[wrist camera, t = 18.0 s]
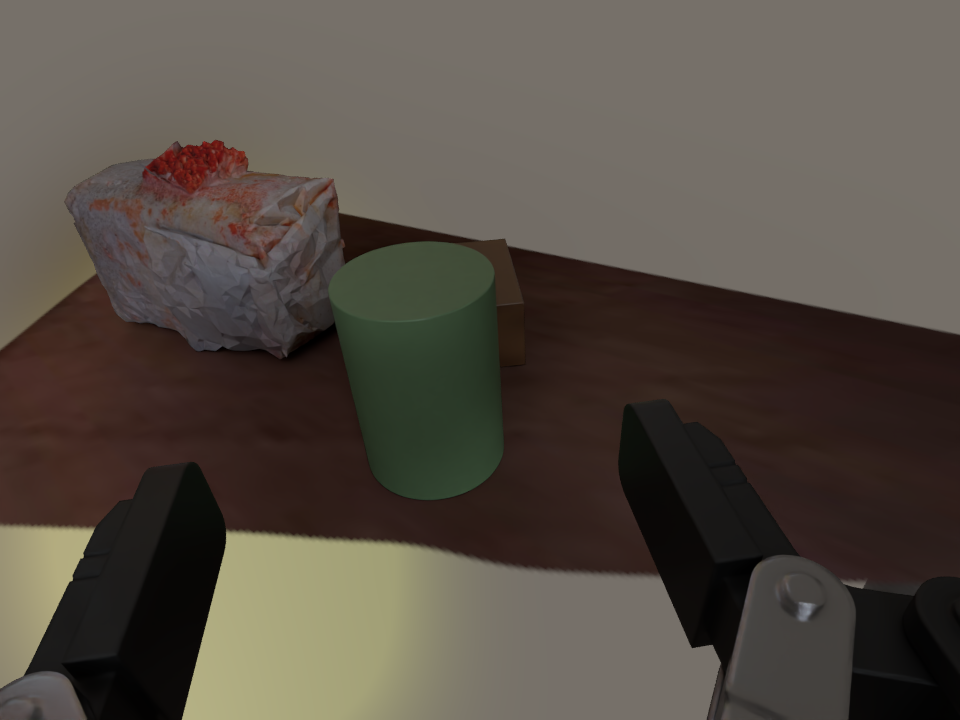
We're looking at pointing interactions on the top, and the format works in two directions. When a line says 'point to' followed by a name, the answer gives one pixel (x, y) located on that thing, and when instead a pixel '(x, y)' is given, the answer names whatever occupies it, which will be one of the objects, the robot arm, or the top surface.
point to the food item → (213, 247)
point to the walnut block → (505, 301)
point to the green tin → (423, 365)
